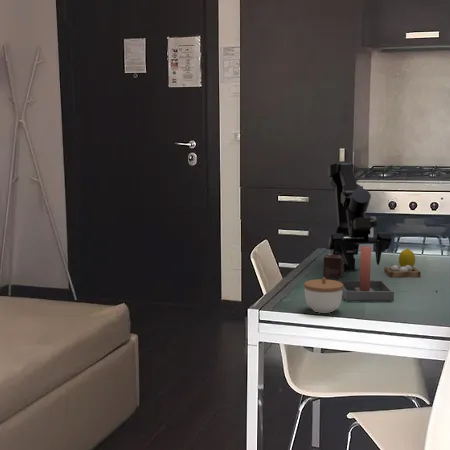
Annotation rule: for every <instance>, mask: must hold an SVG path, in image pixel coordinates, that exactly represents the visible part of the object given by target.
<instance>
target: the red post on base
mask: <svg viewBox="0 0 450 450" xmlns="http://www.w3.org/2000/svg"><path fill="white" fill-rule="evenodd" d="M371 260H372V247H371V246H367V245H366V246H360V260H359V262H360V265H359V266H360V267H359V269H360V270H359V281H360V288H353V289H354V291H373V290H374V288H370V281H371V265H372V264H371V263H372V261H371Z"/></svg>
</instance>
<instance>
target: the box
mask: <svg viewBox="0 0 450 450" xmlns="http://www.w3.org/2000/svg"><path fill="white" fill-rule="evenodd" d="M344 274H345V271H344V260H343V258H342V257H341V256H340V255H335V254H332V253H330V254H328V253H327V254H325V256H324V257H323V275H322V276H323V277H324V278H326V280H338V281H341V280H340V279H341V278H342V277H343V276H344ZM323 277H322V278H323Z"/></svg>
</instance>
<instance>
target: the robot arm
mask: <svg viewBox="0 0 450 450" xmlns="http://www.w3.org/2000/svg"><path fill="white" fill-rule="evenodd" d="M354 167H355V166H354V164H353V162H352V161H350V160H345V161H344V160H341V161H337V162H336V163H333V164H330V165H329V166H328V167H327V177H328V178H329V185H331V187H332V188H333V189H334V191H335V192H334V194H335V206H336V208H335V209H336V219H337V220H336V221H337V228H336V230H335V232H331V234H330V235H329V239H328V249H329V250H330V254H335V255H340V256H341V257H342V258H343V260H344V272H351V271H355V270H356V258H355V256H354V255H356V256H358V254H359V247H360V245H375V249H374V250H375V251H374V253H375V261H376V265H377V266H380V263H381V257H382V253H383V252H386V250H389V248H390V246H391V243H392V240H393V237H392V234H391V233H390V232H377V235H376V237H374V236H373V237H370V235H371V230H372V229H373V228H376V227H377V226H378V220H377V216H374V215H373V216H370V217H366V212H367V211H368V207H369V204H370V201H371V196H372V195H371V193H370V192H369V191H368V190H367V189H365V188H364V186H363V185H360V184H359V183H358V182H357V179H356V177H355V172H354V171H355V169H354Z"/></svg>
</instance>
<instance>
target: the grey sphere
mask: <svg viewBox="0 0 450 450" xmlns="http://www.w3.org/2000/svg"><path fill="white" fill-rule="evenodd" d="M390 267H391V268H390V270H391V271H393V272H399V267H400V266H398V265H396V264H393V265H392V266H390Z"/></svg>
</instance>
